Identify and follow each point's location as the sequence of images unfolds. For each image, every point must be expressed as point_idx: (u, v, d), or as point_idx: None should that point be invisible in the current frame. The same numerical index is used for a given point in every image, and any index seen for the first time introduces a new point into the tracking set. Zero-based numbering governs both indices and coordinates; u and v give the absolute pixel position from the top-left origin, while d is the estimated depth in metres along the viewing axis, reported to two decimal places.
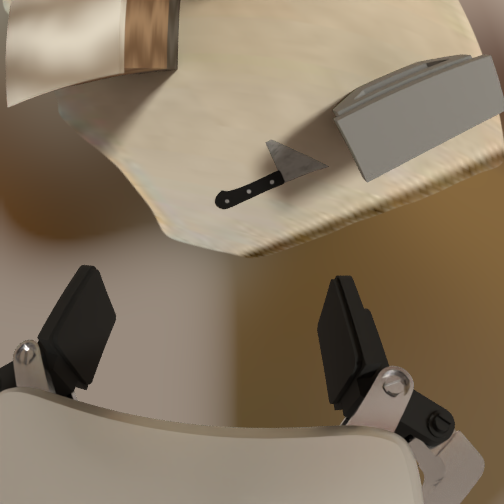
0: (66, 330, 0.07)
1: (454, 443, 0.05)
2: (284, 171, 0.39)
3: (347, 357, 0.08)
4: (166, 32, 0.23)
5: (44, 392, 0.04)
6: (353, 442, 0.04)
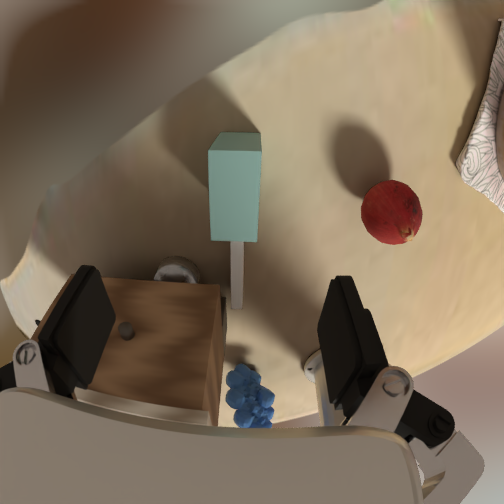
0: (66, 330, 0.07)
1: (454, 443, 0.05)
2: None
3: (347, 357, 0.08)
4: None
5: (44, 392, 0.04)
6: (353, 442, 0.04)
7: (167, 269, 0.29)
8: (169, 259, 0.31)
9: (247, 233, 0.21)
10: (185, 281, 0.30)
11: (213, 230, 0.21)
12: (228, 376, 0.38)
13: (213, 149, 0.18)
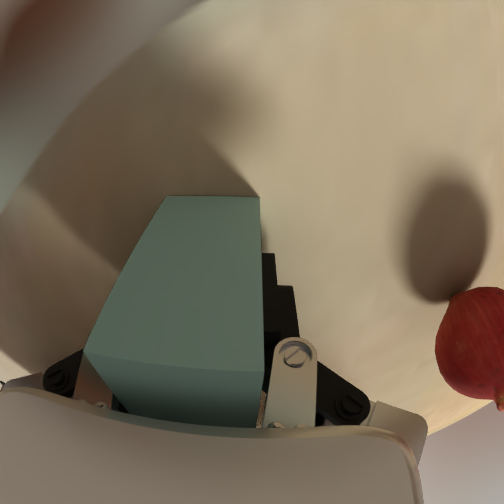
0: None
1: (378, 416, 0.06)
2: None
3: None
4: None
5: (44, 392, 0.04)
6: (353, 442, 0.04)
7: None
8: None
9: None
10: None
11: None
12: None
13: (100, 343, 0.05)
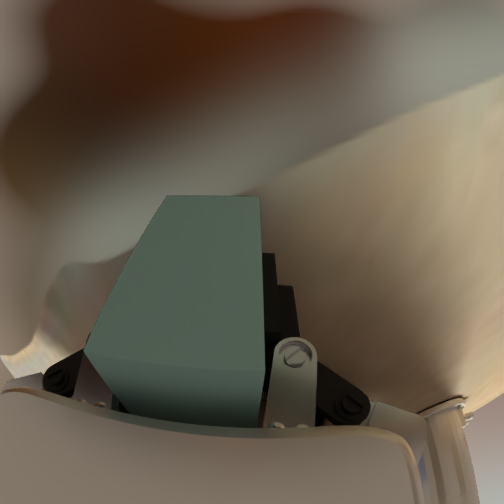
0: None
1: (378, 416, 0.06)
2: None
3: None
4: None
5: (44, 392, 0.04)
6: (353, 442, 0.04)
7: None
8: None
9: None
10: None
11: None
12: None
13: (100, 343, 0.05)
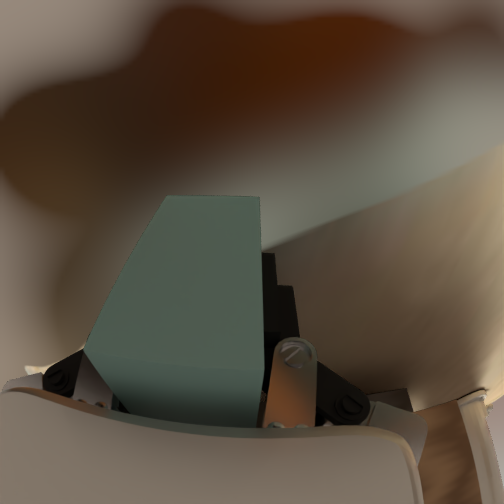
0: None
1: (378, 416, 0.06)
2: None
3: None
4: None
5: (44, 392, 0.04)
6: (353, 442, 0.04)
7: None
8: None
9: None
10: None
11: None
12: None
13: (100, 342, 0.05)
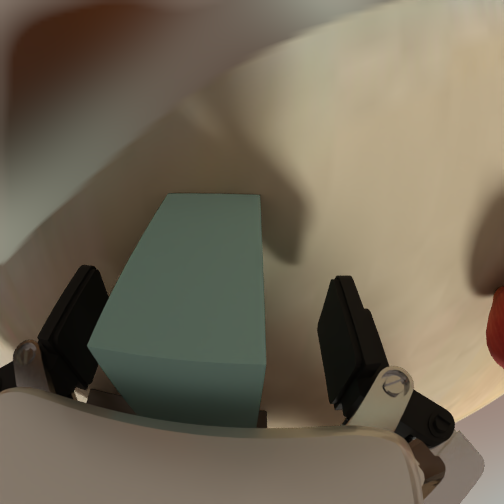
0: (66, 330, 0.07)
1: (454, 443, 0.05)
2: None
3: (347, 357, 0.08)
4: None
5: (44, 392, 0.04)
6: (353, 442, 0.04)
7: None
8: None
9: None
10: None
11: None
12: None
13: (104, 338, 0.05)
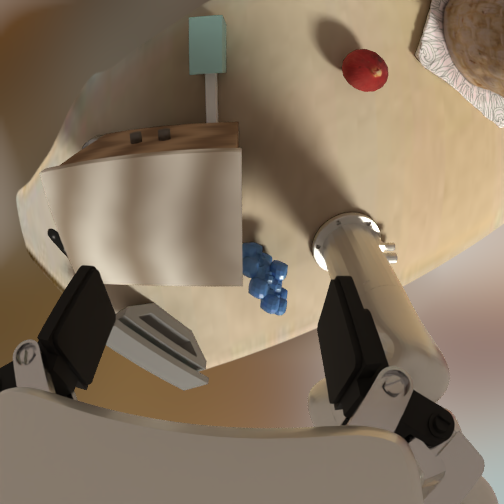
0: (66, 330, 0.07)
1: (454, 443, 0.05)
2: None
3: (347, 357, 0.08)
4: None
5: (44, 392, 0.04)
6: (353, 442, 0.04)
7: (88, 142, 0.33)
8: (92, 138, 0.34)
9: (215, 67, 0.25)
10: None
11: (191, 67, 0.24)
12: None
13: None
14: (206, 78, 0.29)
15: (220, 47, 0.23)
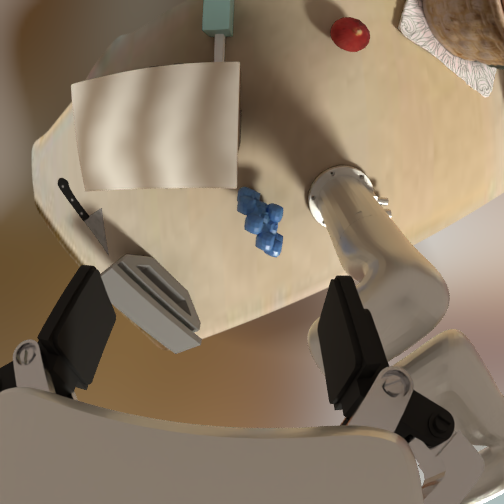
0: (66, 330, 0.07)
1: (454, 443, 0.05)
2: (89, 220, 0.52)
3: (347, 357, 0.08)
4: None
5: (44, 392, 0.04)
6: (353, 442, 0.04)
7: None
8: None
9: (223, 24, 0.27)
10: None
11: (204, 24, 0.27)
12: (240, 189, 0.45)
13: None
14: (215, 38, 0.31)
15: (228, 10, 0.26)
